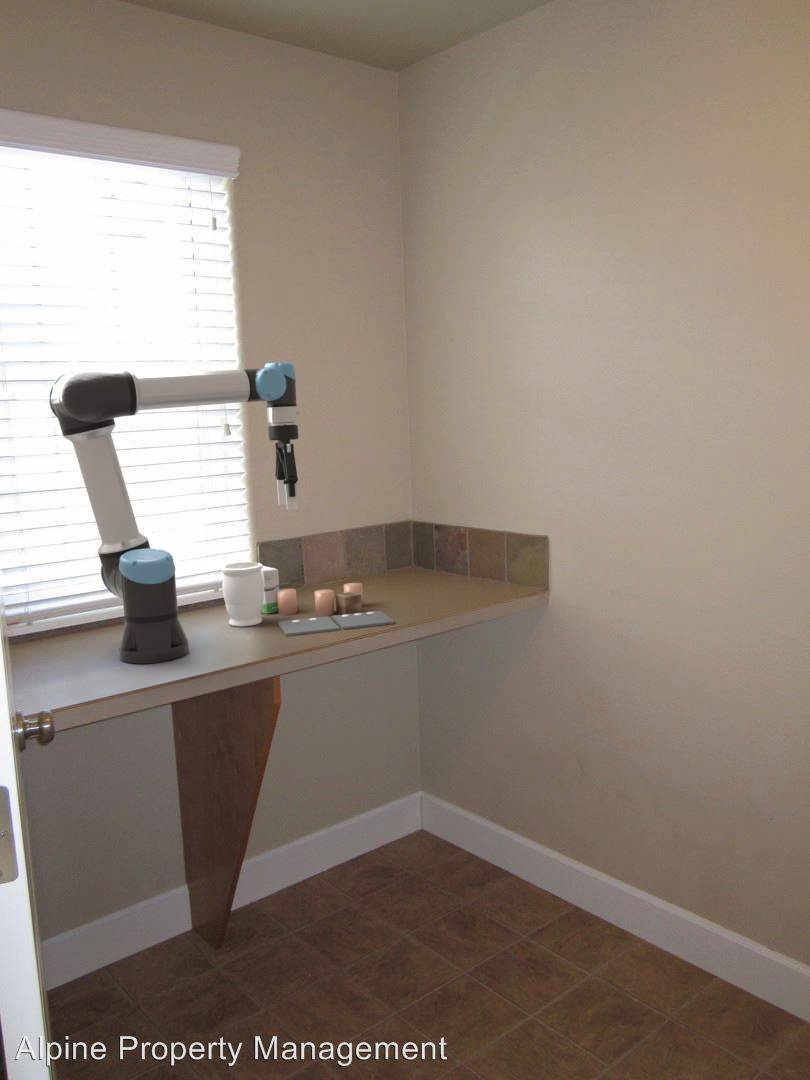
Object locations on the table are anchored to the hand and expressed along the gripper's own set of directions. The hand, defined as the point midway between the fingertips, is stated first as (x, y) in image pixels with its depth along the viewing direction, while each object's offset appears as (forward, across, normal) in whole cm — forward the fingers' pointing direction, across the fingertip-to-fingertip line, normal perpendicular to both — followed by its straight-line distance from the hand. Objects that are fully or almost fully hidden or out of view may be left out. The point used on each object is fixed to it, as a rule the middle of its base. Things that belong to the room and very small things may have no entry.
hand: (288, 507), depth 229 cm
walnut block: (+29, -4, -14) cm, 32 cm away
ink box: (+29, +9, +6) cm, 31 cm away
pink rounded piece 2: (+29, +3, -17) cm, 33 cm away
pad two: (+29, -14, -1) cm, 32 cm away
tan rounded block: (+29, +4, +1) cm, 29 cm away
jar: (+29, -3, +13) cm, 32 cm away
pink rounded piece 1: (+29, -2, -8) cm, 30 cm away
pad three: (+29, -14, -15) cm, 35 cm away
